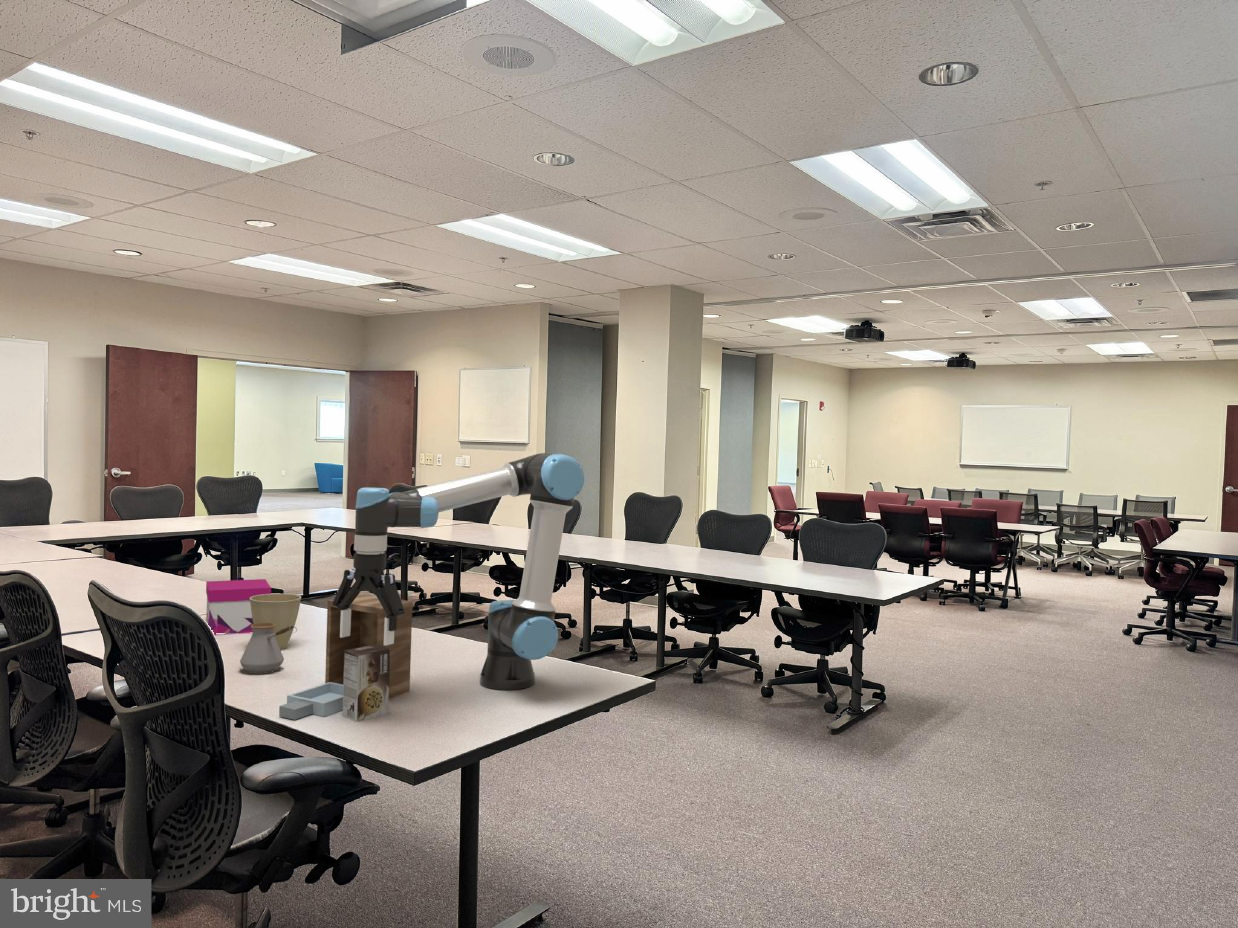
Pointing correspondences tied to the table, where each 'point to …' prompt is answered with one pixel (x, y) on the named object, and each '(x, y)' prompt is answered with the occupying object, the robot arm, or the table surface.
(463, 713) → the table surface
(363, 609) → the wooden cubby shelf
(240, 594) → the decorative box
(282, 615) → the plant pot
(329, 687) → the tray
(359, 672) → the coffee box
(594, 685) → the table surface
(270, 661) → the coffee pot
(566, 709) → the table surface
